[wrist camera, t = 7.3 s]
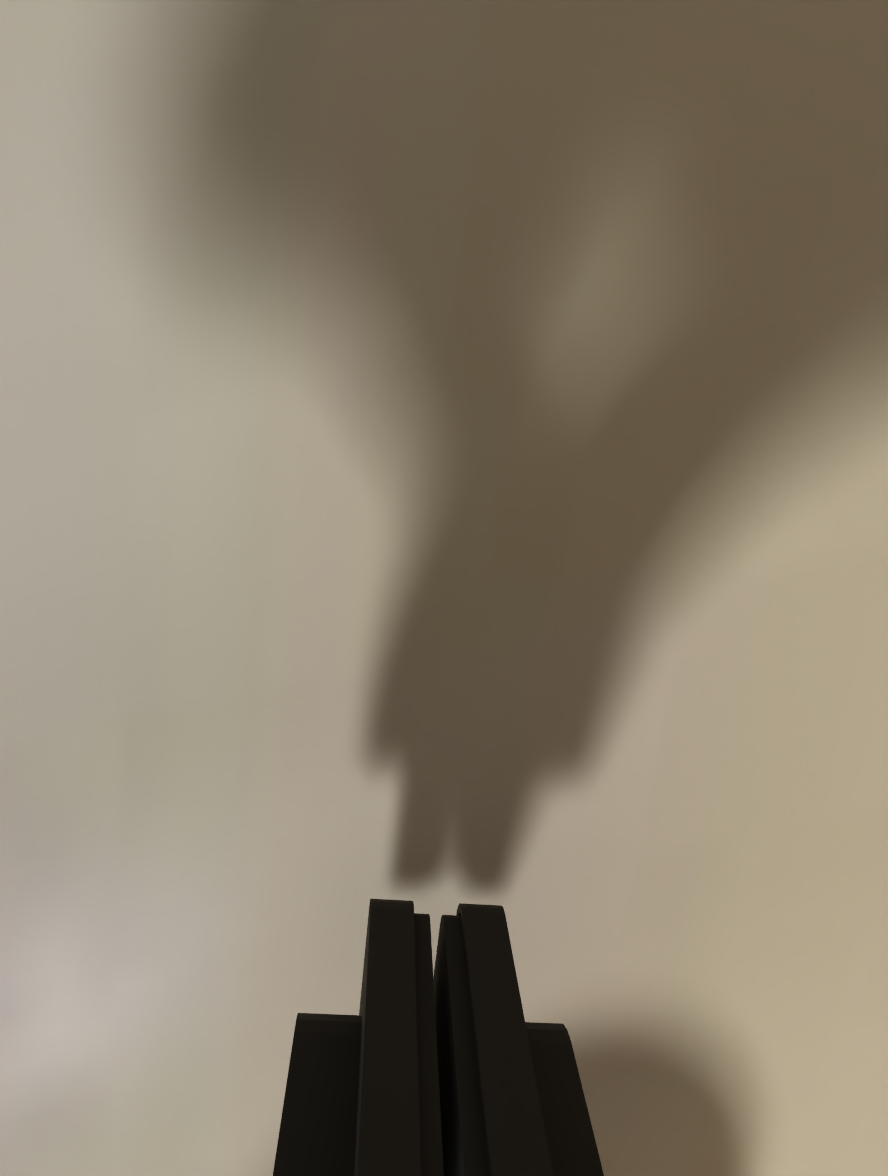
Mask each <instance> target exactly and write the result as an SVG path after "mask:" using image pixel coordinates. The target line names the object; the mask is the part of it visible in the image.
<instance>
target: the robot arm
mask: <svg viewBox="0 0 888 1176" xmlns="http://www.w3.org/2000/svg"><path fill="white" fill-rule="evenodd" d="M273 1176H604V1174H603V1170H602V1166H601V1162H600V1158H599V1154H598V1150H597V1146H596V1142H595V1138H594V1134H593V1130H592V1125H591V1121H590V1117H589V1113H588V1109H587V1105H586V1101H585V1097H584V1093H583V1089H582V1085H581V1081H580V1077H579V1072H578V1068H577V1064H576V1060H575V1056H574V1052H573V1048H572V1044H571V1040H570V1037H569V1034H568V1031H567V1029H566V1028H565V1026H564V1025H563V1024H553V1023H529V1022H525V1020H524V1014H523V1009H522V1004H521V998H520V993H519V987H518V982H517V976H516V971H515V966H514V960H513V955H512V949H511V944H510V939H509V933H508V928H507V922H506V917H505V912H504V909H503V907H502V906H497V905H478V904H459V906H458V909H457V915H456V916H454V915H442V917H441V923H440V930H439V938H438V946H437V954H436V962H435V970H434V978H433V965H432V947H431V929H430V916H429V914H415V913H414V904H413V901H402V900H383V899H370V906H369V916H368V927H367V937H366V948H365V958H364V969H363V980H362V990H361V1001H360V1012H359V1016H357V1015H333V1014H308V1013H298V1015H297V1019H296V1025H295V1031H294V1038H293V1045H292V1052H291V1058H290V1065H289V1072H288V1078H287V1085H286V1092H285V1098H284V1105H283V1112H282V1119H281V1125H280V1132H279V1139H278V1145H277V1152H276V1159H275V1165H274V1172H273Z"/></svg>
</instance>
